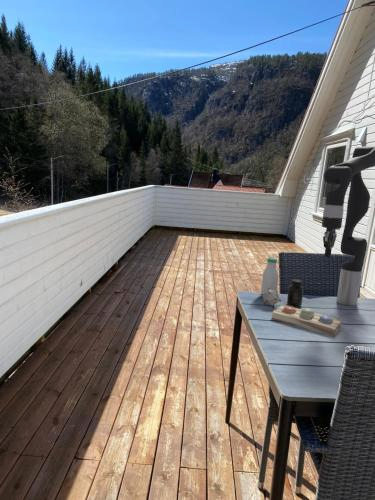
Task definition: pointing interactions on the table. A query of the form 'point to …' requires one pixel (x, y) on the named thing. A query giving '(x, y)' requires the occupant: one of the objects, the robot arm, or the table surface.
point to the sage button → (307, 313)
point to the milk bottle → (270, 276)
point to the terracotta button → (289, 309)
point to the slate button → (325, 319)
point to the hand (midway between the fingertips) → (327, 257)
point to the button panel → (307, 321)
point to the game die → (271, 297)
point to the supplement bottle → (295, 293)
